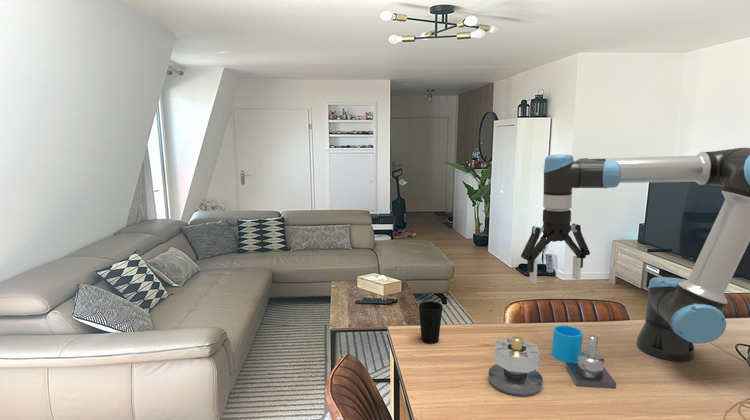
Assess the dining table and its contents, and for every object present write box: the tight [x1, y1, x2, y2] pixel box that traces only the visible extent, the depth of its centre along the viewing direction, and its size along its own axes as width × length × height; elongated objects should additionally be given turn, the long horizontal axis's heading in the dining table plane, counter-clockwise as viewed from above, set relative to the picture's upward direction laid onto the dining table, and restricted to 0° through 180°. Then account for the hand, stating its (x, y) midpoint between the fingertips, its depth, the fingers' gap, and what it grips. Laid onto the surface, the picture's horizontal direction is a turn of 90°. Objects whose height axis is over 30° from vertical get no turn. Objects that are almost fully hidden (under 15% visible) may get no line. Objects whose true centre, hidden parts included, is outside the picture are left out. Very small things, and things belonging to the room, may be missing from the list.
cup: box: [418, 300, 443, 345], centre depth 147 cm, size 8×8×12 cm
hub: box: [487, 336, 544, 398], centre depth 121 cm, size 14×14×12 cm
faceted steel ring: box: [493, 337, 541, 373], centre depth 121 cm, size 11×11×4 cm
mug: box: [551, 324, 584, 363], centre depth 138 cm, size 12×8×8 cm
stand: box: [565, 334, 617, 389], centre depth 124 cm, size 10×10×12 cm
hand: (554, 280), depth 131 cm, fingers open, 13 cm apart
